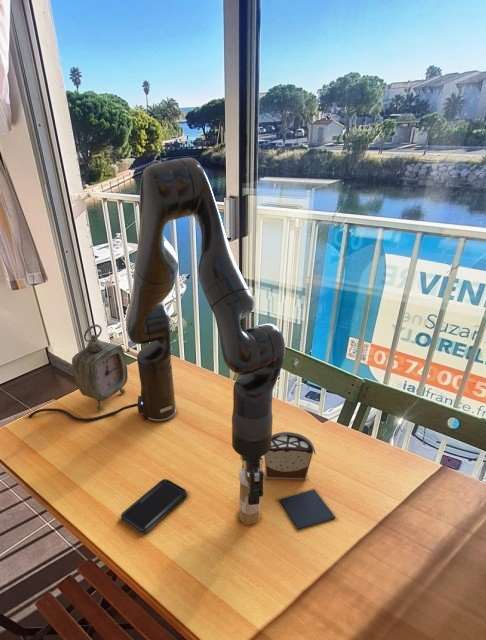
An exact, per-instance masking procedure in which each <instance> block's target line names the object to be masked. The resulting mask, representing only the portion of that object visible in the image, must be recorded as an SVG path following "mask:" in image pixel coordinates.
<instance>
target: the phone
mask: <svg viewBox="0 0 486 640" xmlns="http://www.w3.org/2000/svg"><path fill="white" fill-rule="evenodd" d="M187 498H188V491H187V490H186V489H185V488H183V487H181V486H179V485H178V484H176V483H174V482H173V481H171V480H170V479H167V478H164V479H161V480H160V481H159V482H157V484H155V485H154V486H153V487H152V488H150V489H149V490H148V491H147V492H146V493H144V494H143V495H141V497H139V498H138V499H137V500H136V501H135V502H133V503H132V504H131V505H130V506H129V507H127V508H126V509H125V510H124V511H122V513H121V515H120V517H121V520H122V522H123V523H125V524H126V525H128V526H129V527H131V528H132V529H134V530H135V531H136V532H138V533H139V534H141V535H146V534H148V533H149V532H150V531H151V530H152V529H153V528H154V527H156V525H158V524H159V523H160V522H162V521H163V520H164V519H165V518H166V517H167V516H168V515H169V514H170V513H171V512H172V511H173V510H174V509H175V508H177V507H178V506H179V505H180V504H181V503H182V502H183V501H184V500H186V499H187Z"/></svg>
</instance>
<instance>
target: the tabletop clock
mask: <svg viewBox="0 0 486 640" xmlns="http://www.w3.org/2000/svg"><path fill="white" fill-rule="evenodd" d="M94 328H99V332H98V333H97V335H95V334H92V335H91V339H90V338H89V339H87V335H88V333H89V332H90V331H91V330H92V329H94ZM102 329H103V328H102V326H101V325H99V324H93V325H91V326H90V327H88V328H87V329H86V330H85V331H84V334H83V339H84V341H85V342H87V345H86V347H84V348H82V349H81V350H80V351H78V352H77V353H75V355H74V356H73V357H72V358H71V366H72V373H73V377H74V380H75V385H76V386H77V389H78V390H79V392H80V393H81V394H82V396H85V397H88V398H90V399H94V400H96V401H97V404H98V405H97V407H96V408H97V411H99V412H101V411H102V410H103V408H104V407H103V406H102V405H101V402H104V401H106V400H108V399H109V398H111V397H112V396H114V395H116V394H117V393H118V392H120V393H121V394H125V393H126V389H125V388H123V387H124V386H125V385H126V384H127V383H128V363H127V358H126V355H125V351H124V349H123V347H122V345H118V344H114V343H111V342H107V341H103V340H101V339H98V338H99V337H100V336H101V334H102V331H103V330H102Z"/></svg>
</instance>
